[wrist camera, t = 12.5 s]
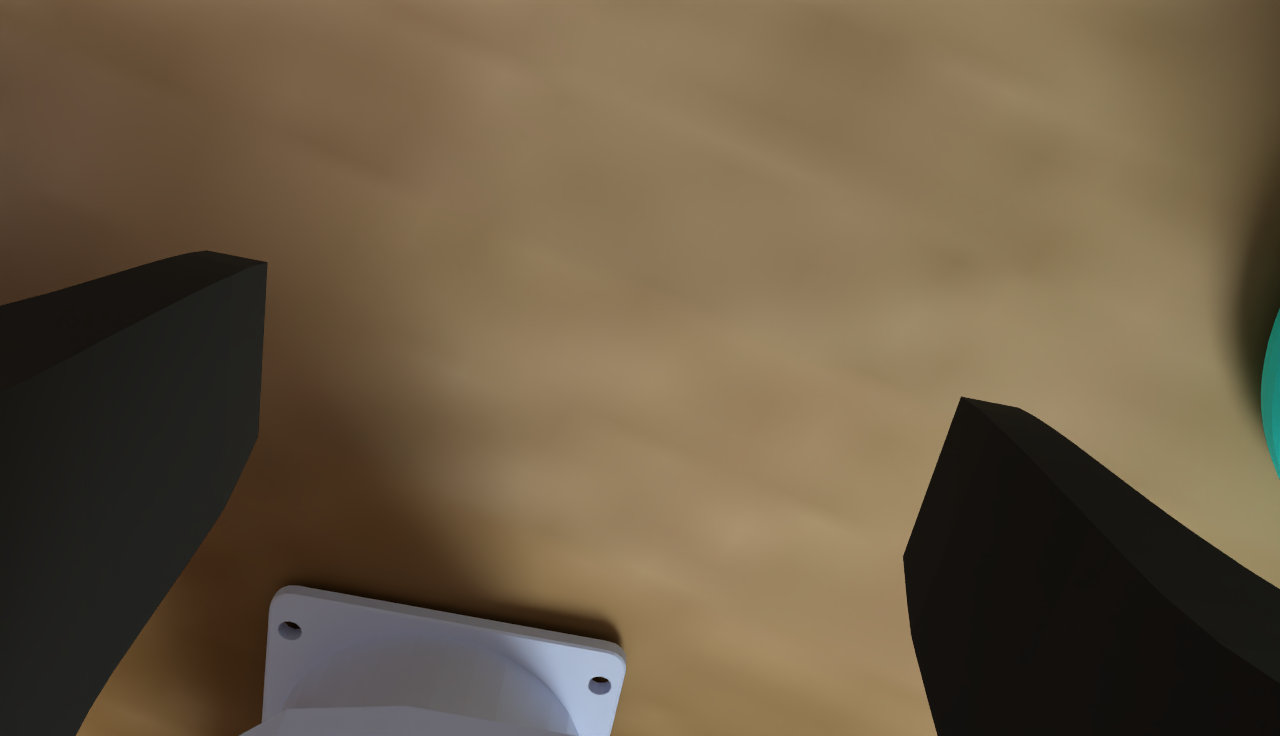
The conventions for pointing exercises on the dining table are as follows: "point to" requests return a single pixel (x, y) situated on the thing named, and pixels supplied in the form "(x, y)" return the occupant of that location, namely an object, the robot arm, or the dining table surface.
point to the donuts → (1272, 395)
